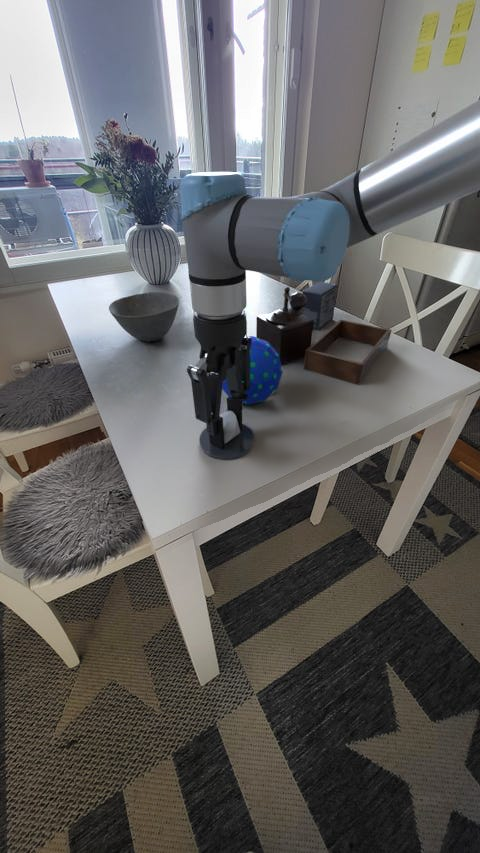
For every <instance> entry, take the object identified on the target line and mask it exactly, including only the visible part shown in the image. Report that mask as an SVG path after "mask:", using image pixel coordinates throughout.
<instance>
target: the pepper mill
mask: <svg viewBox="0 0 480 853" xmlns="http://www.w3.org/2000/svg"><path fill="white" fill-rule="evenodd" d="M290 291H291V288H290V287H289V286H285V288H284V293H283V295H282V296H283V298H284V300H283V301H284V302H283V307H282V308H278V309H276V310H274V311H271V312H266V313H263V314H259V315H257V316H256V327H255V329H256V334H255V335H256V336H255V337H256V338H259V339H261V340H264V341H267V342H269V344H270V345H271V346H272V347H273V348H274V350H275V351H276V352H277V353H278V355H279V357H280V362H281V365H284V364H288V363H292V362H295V361H297V360H301V359H303V358H305V350H306V349H307V348H309V347H310V346H311V345H312V340H313V333H314V329H313V325H314V320H313V319H311V318H309V317H307V316H305V315H302V313H303V307H304V306H305V305H306V303H307V298H306V296H305V295H304V294H303V292H293V293H290ZM289 306H290V308H289Z"/></svg>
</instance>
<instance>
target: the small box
mask: <svg viewBox="0 0 480 853" xmlns="http://www.w3.org/2000/svg"><path fill="white" fill-rule="evenodd" d="M337 291H338V284H337V283H332V282H325V281H316V283H314V284H313V285H311V286H309V287H307V288H305V289H304V290H302V294H304V295H305V296H306V298H307V303H306V305H305V306H304V307H303V313H302V315H305V316H307V317H309V318H311V319H313V320H314V325H313V330H316V331H320V330H321V329H322V328H323V327H325V326H326V325H327V324H328V323H330V322H332V320H334V314H335V305H336V299H337Z"/></svg>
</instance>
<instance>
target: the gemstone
mask: <svg viewBox="0 0 480 853" xmlns="http://www.w3.org/2000/svg"><path fill="white" fill-rule="evenodd" d="M219 416H221V417H223V428H224V443H227V442H228V441H230V440H231V439H232V438H234V437H235V436H237V435H238V434H240V433H241V432H240V429H239V425H238V421H237V417H236V415H235V414H234V412H232V411H227V410H226V411H223V412H221V414H219Z"/></svg>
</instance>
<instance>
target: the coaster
mask: <svg viewBox="0 0 480 853" xmlns="http://www.w3.org/2000/svg"><path fill="white" fill-rule="evenodd" d="M240 432H241V433H240V434H238V435H237V436H235V437H234V438H232V439H231V440H230V441H228V442H227V443H224V444H225V447H224V448H223V449H221V448H219V447H216V446H214V445H212V444H210V439H209V434H208V432H207V427H205V428H204V429H202V432H201V433H200V434H199V438H198V440H199V441H198V442H199V447H200V449H201V451H202V452H203V453H204V454H205V455H206V456H208V457H210V458H212V459H216V460H221V461H222V460H223V461H227V460H235V459H239V458H241V457H243V456H245V455H246V454H248V453H249V452H250V451H251V450H252V448H253V447H254V444H255V434H254V432H253V431H252V429H251V428H250V427H249V426H248V425H246V424H245V423H242V431H240Z"/></svg>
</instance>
